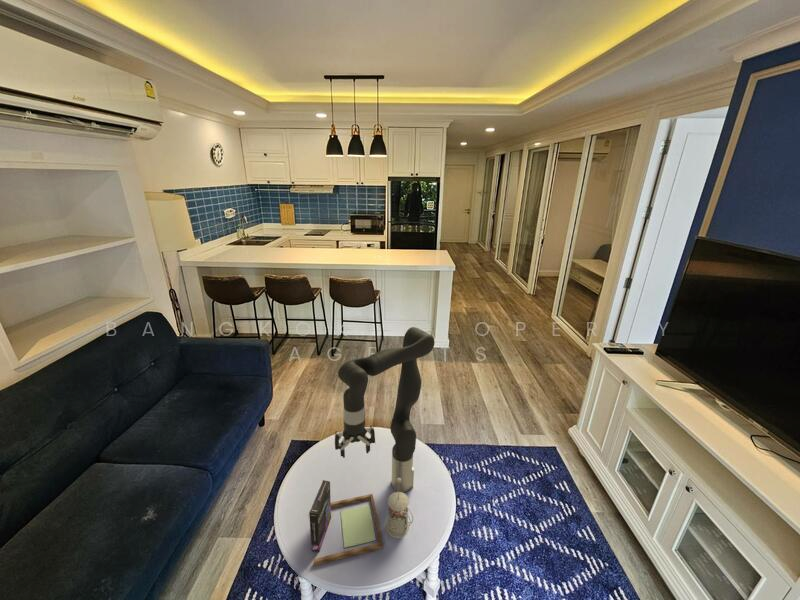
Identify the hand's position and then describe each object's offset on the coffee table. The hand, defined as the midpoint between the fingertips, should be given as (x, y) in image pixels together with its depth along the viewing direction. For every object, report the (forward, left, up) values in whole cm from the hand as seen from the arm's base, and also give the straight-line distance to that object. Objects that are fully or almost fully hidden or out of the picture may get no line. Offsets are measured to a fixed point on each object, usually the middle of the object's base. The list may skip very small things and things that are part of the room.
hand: (355, 453), depth 118 cm
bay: (+5, 0, -36) cm, 36 cm away
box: (+14, 0, -36) cm, 39 cm away
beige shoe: (-16, +5, -36) cm, 40 cm away
